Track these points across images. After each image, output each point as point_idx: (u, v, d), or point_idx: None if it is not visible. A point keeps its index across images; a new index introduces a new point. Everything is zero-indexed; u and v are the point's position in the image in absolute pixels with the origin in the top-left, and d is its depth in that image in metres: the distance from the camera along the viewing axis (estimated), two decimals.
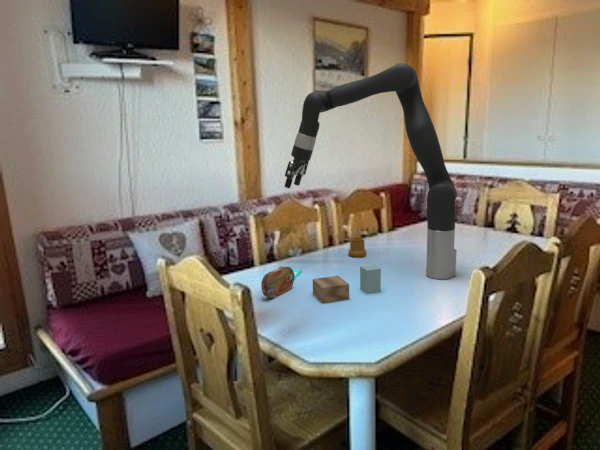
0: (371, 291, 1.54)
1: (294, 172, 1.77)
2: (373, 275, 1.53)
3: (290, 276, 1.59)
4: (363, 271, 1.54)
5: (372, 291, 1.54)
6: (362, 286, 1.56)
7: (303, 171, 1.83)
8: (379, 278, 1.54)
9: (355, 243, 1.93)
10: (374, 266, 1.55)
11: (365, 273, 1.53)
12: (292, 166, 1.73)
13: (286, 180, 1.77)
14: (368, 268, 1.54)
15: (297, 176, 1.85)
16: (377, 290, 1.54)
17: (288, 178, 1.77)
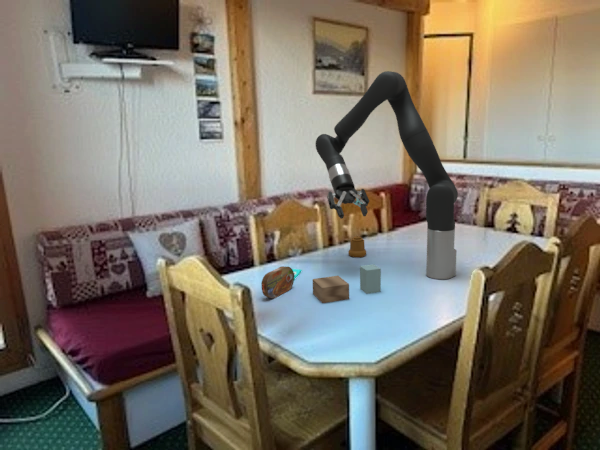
0: (371, 291, 1.54)
1: None
2: (373, 275, 1.53)
3: (290, 276, 1.59)
4: (363, 271, 1.54)
5: (372, 291, 1.54)
6: (362, 286, 1.56)
7: (357, 197, 1.66)
8: (379, 278, 1.54)
9: (355, 243, 1.93)
10: (374, 266, 1.55)
11: (365, 273, 1.53)
12: (329, 195, 1.65)
13: (337, 212, 1.64)
14: (368, 268, 1.54)
15: (361, 207, 1.66)
16: (377, 290, 1.54)
17: (336, 208, 1.64)
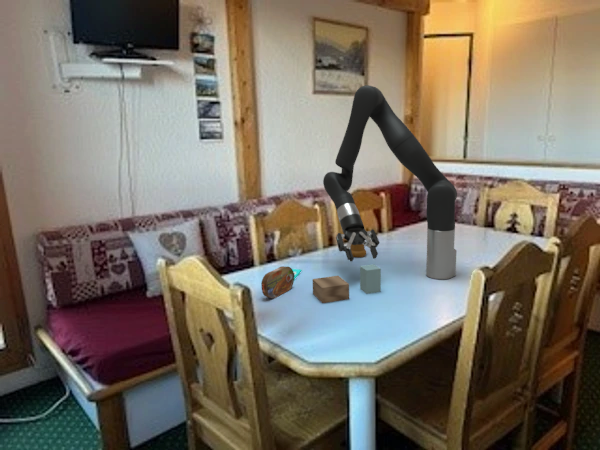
0: (371, 291, 1.54)
1: (348, 242, 1.60)
2: (373, 275, 1.53)
3: (290, 276, 1.59)
4: (363, 271, 1.54)
5: (372, 291, 1.54)
6: (362, 286, 1.56)
7: (367, 239, 1.61)
8: (379, 278, 1.54)
9: None
10: (374, 266, 1.55)
11: (365, 273, 1.53)
12: (338, 237, 1.61)
13: (346, 254, 1.59)
14: (368, 268, 1.54)
15: (370, 249, 1.62)
16: (377, 290, 1.54)
17: (345, 251, 1.59)
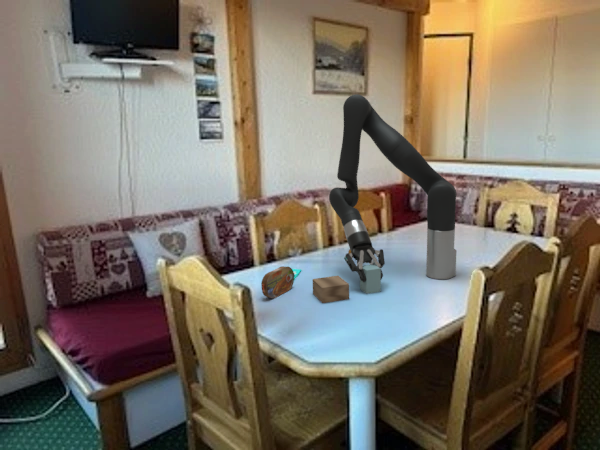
0: (371, 291, 1.54)
1: (359, 262, 1.55)
2: (373, 275, 1.53)
3: (290, 276, 1.59)
4: None
5: (372, 291, 1.54)
6: (362, 286, 1.56)
7: (373, 258, 1.56)
8: (379, 278, 1.54)
9: None
10: (374, 266, 1.55)
11: (365, 273, 1.53)
12: (347, 258, 1.56)
13: None
14: (368, 268, 1.54)
15: None
16: (377, 290, 1.54)
17: (358, 271, 1.54)
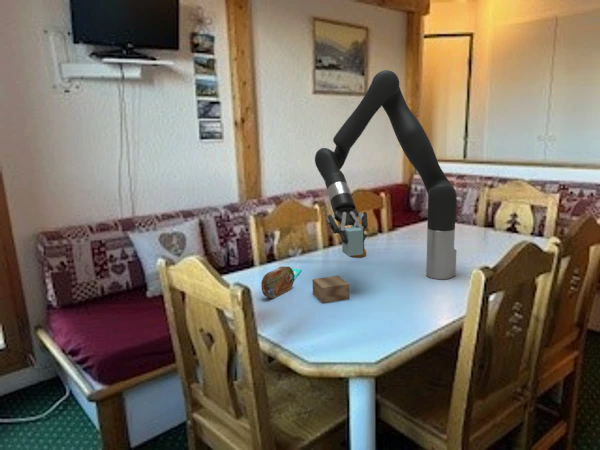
0: (353, 253, 1.50)
1: (341, 223, 1.51)
2: (355, 236, 1.49)
3: (290, 276, 1.60)
4: None
5: (354, 253, 1.50)
6: (344, 249, 1.52)
7: (356, 220, 1.52)
8: (361, 240, 1.50)
9: None
10: (357, 228, 1.51)
11: (347, 234, 1.49)
12: (329, 219, 1.52)
13: (340, 236, 1.50)
14: (350, 229, 1.50)
15: None
16: (359, 252, 1.50)
17: (340, 233, 1.50)
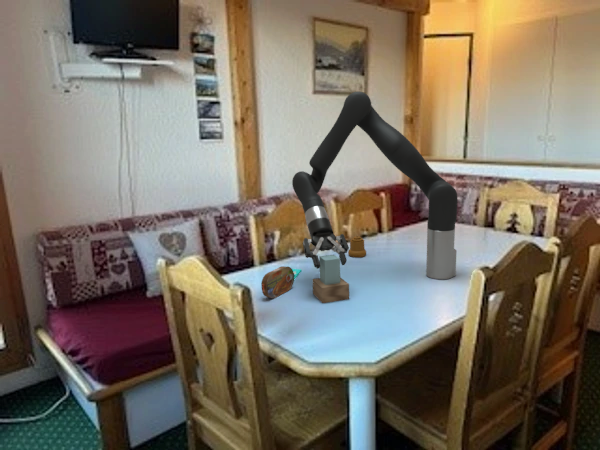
0: (330, 282, 1.49)
1: (315, 248, 1.50)
2: (332, 265, 1.48)
3: (290, 276, 1.59)
4: (322, 261, 1.49)
5: (331, 282, 1.49)
6: (321, 277, 1.51)
7: (336, 244, 1.51)
8: (338, 268, 1.48)
9: (355, 243, 1.93)
10: (334, 256, 1.50)
11: (324, 263, 1.47)
12: (304, 242, 1.51)
13: (313, 261, 1.49)
14: (327, 258, 1.49)
15: (339, 255, 1.52)
16: (336, 281, 1.49)
17: (312, 257, 1.49)
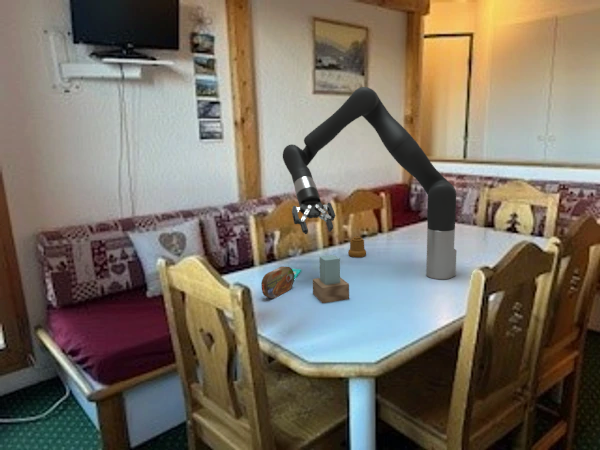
0: (330, 282, 1.49)
1: (303, 215, 1.58)
2: (332, 265, 1.48)
3: (290, 276, 1.60)
4: (322, 261, 1.49)
5: (331, 282, 1.49)
6: (321, 277, 1.51)
7: (323, 212, 1.60)
8: (338, 268, 1.48)
9: (355, 243, 1.93)
10: (334, 256, 1.50)
11: (324, 263, 1.47)
12: (293, 210, 1.59)
13: (301, 227, 1.58)
14: (327, 258, 1.49)
15: (326, 222, 1.60)
16: (336, 281, 1.49)
17: (300, 223, 1.58)
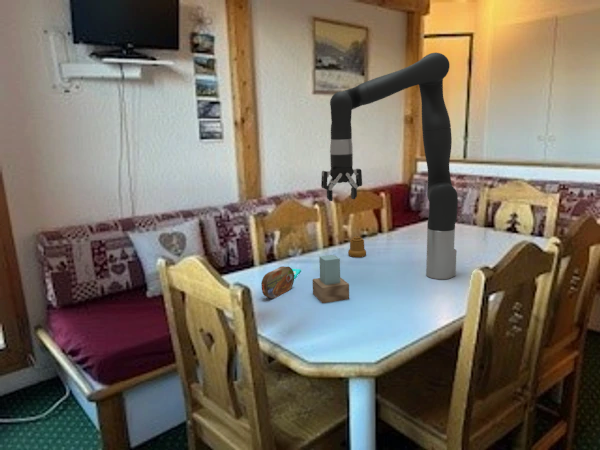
0: (330, 282, 1.49)
1: (332, 182, 1.61)
2: (332, 265, 1.48)
3: (290, 276, 1.59)
4: (322, 261, 1.49)
5: (331, 282, 1.49)
6: (321, 277, 1.51)
7: (351, 181, 1.62)
8: (338, 268, 1.48)
9: (355, 243, 1.93)
10: (334, 256, 1.50)
11: (324, 263, 1.47)
12: (323, 175, 1.60)
13: None
14: (327, 258, 1.49)
15: (351, 189, 1.65)
16: (336, 281, 1.49)
17: (327, 190, 1.62)
